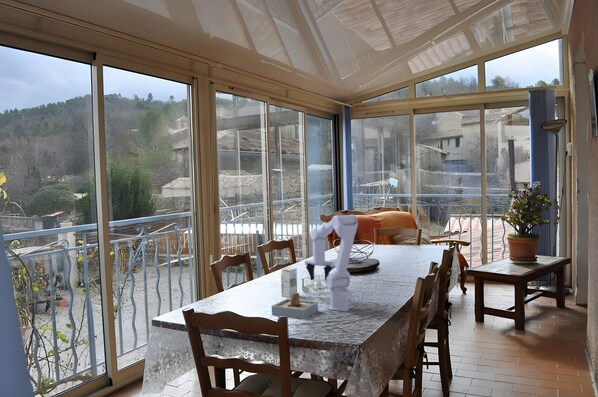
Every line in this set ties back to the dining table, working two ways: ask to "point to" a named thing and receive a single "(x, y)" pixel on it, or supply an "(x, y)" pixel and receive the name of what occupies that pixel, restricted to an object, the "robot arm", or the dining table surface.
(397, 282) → the dining table surface
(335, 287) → the robot arm
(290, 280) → the syrup box
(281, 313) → the open box
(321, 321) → the dining table surface
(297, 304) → the peg
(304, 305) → the bore plate
